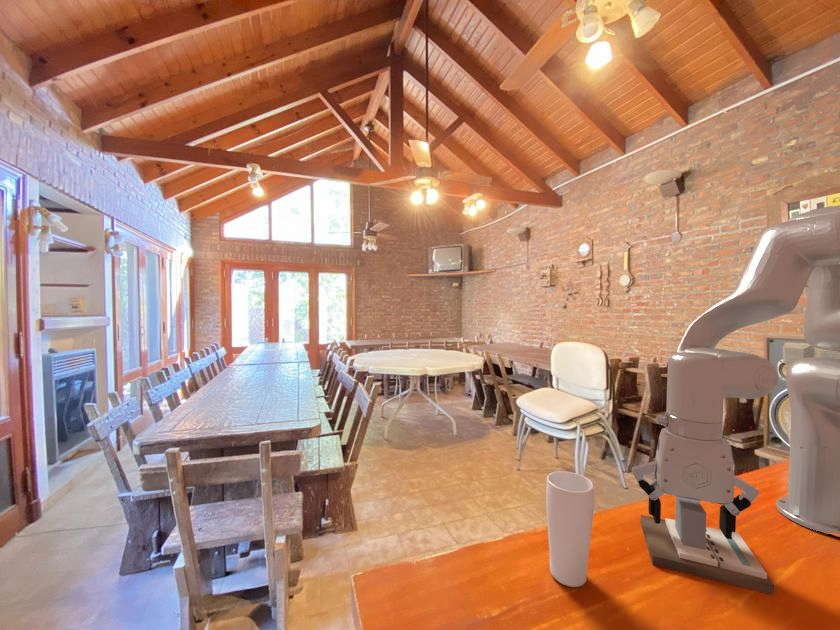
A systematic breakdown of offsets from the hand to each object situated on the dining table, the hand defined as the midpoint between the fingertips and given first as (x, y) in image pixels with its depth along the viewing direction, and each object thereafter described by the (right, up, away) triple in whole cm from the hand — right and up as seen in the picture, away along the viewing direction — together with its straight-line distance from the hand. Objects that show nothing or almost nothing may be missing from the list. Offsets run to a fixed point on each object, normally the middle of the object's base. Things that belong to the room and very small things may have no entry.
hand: (689, 526), depth 61 cm
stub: (0, -3, 0) cm, 3 cm away
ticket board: (+1, -4, 0) cm, 5 cm away
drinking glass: (-23, -5, -5) cm, 24 cm away
